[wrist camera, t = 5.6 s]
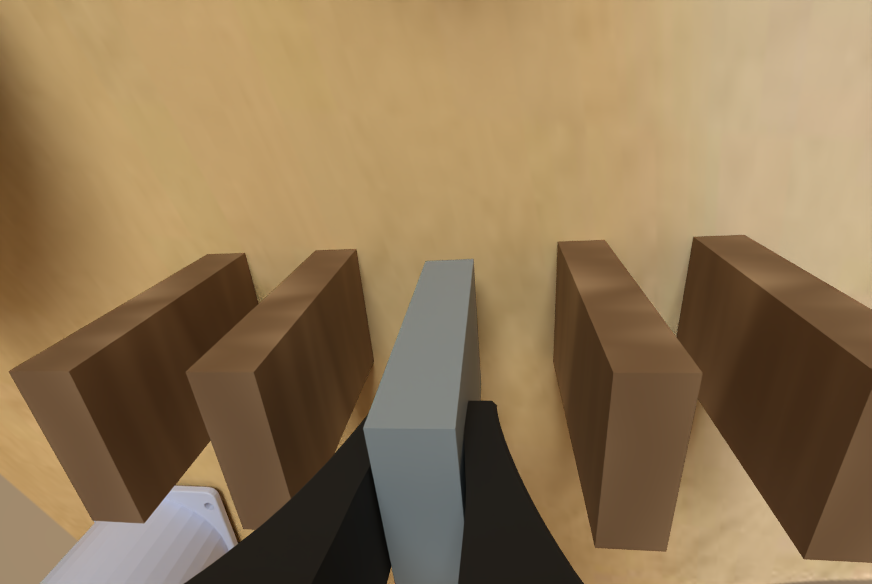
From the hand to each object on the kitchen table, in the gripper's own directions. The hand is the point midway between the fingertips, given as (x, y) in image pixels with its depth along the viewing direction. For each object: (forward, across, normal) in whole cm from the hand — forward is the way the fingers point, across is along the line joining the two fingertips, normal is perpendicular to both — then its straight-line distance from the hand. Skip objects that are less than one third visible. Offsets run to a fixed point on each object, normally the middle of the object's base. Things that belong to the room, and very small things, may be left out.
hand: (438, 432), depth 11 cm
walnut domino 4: (+7, -9, 0) cm, 11 cm away
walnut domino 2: (+7, +4, 0) cm, 8 cm away
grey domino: (+5, 0, 0) cm, 5 cm away
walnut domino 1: (+7, +9, 0) cm, 11 cm away
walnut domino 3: (+7, -4, 0) cm, 8 cm away
